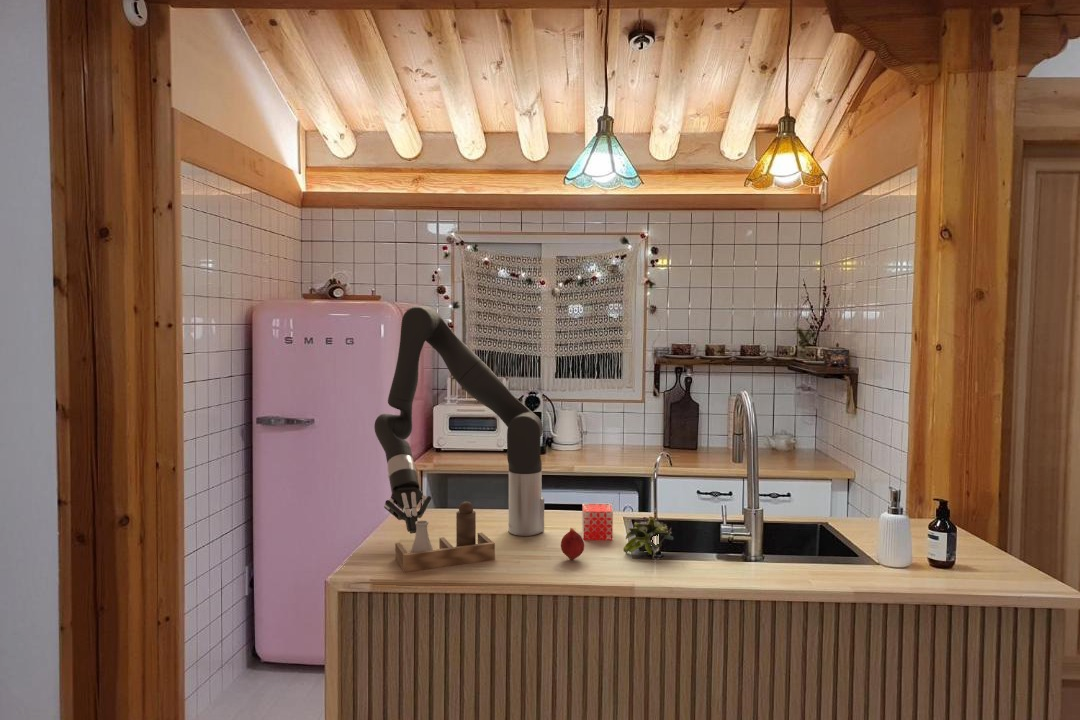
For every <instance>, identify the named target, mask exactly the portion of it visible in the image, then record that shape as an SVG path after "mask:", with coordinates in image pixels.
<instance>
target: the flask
mask: <svg viewBox="0 0 1080 720" xmlns="http://www.w3.org/2000/svg"><path fill="white" fill-rule="evenodd" d="M415 524H416V533H415V536H414V541H413V544H412V547H411V549H410V551H409V553H413V552H421V551H428V550H434V549H433V547H432V543H431V540H430V537H429V532H428V525H429V521H428V520H426V519H425V520H422V519H420V520H418V521H416V522H415Z"/></svg>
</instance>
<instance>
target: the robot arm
mask: <svg viewBox="0 0 1080 720" xmlns="http://www.w3.org/2000/svg"><path fill="white" fill-rule="evenodd" d="M400 325H401V326H400V327H401V328H400V340H399V348H398V353H397V354H398V355H397V361H396V367H395V371H394V374H393V378H392V382H391V386H390V390H389V394H388V397H387V403H388V405H389V407H392V408H393V409H396V410H399V411H400V413H399V414H389V413H382V414H379V415H378V416H377V417H376V419H375V421H374V433H375V437H376V438H377V440H378V441H379V443H380V445H381V447H382V449H383V451H384V453H385V458H386V464H387V477H388V479H389V484H390V485H389V486H390V492H391V495H390V499H387V500H385V503H384V506H383V507H384V509H385V510H386V511H388V512H389V513H390V514H391V515H392V516H393V517H395V519H397V521H404V522H405V526H406V531H407V532H409V534H416V524H415V522H416V521H419V520H418V519H421V518H422V517H423V515H424V514H425V513H426V510H427V509H428V508H429V506H430V504H431V502H432V497H431V496H430V495H428V496H426V495H425V494H424V493H423V491H422V490H421V488H420V481H419V479H418V478H419V477H418V473H417V470H416V469H417V468H416V464H415V462H414V461H415V460H414V458H413V455H412V449H411V445H410V443H409V442H408V441H407V440H406V439H408V438H409V437H410V436H411V434H412V432H413V416H412V415H413V404H414V403H413V402H414V399H415V395H416V392H417V386H418V381H419V366H420V365H419V362H420V357H421V352H422V350H423V347H424V344H425V342H426V343H427V344H429V345H430V346H431V347H432V348H433V349H434V350H435V351H436V353H438V354H439V355H440V357H441V358H442V360H443V363H444V364H445V366H446V368H447V370H448V371H449V373H450V375H451V377H453V379H454V380H455V381H456V382H457V383H458V384H459V386H460V387H461V388H463V390H464V391H465V393H467V394H469V395H470V396H471V397H472V398H473V399H474V400H476V401H478V402H479V403H480V404H482V405H483V406H485V407H486V408H487V409H489V410H491V411H492V412H493V413H495V415H496V416H497V417H498V418H499V419H500V420H501V421H502V422H503V424H505V426H506V429H507V430H506V431H507V432H506V448H507V449H506V453H507V454H506V457H507V463H508V532H509V533H510V534H512V535H514V536H522V537H526V536H527V537H528V536H529V537H530V536H536V535H539V534H541V533H544V532H545V498H544V497H543V496H542V493H543V492H542V491H543V490H542V488H543V487H542V481H543V480H542V479H543V478H542V475H543V474H542V473H543V472H542V470H543V469H542V465H543V462H542V459H541V458H542V457H541V437H542V434H543V432H544V426H543V425H544V424H543V422H542V420H541V419H540V417H539V416H538V415H537V414H535V412H533V411H532V410H531V409H529V408H528V407H527V406H526V405H525V404H523V403H522V402H521V401H520V400H519V399H518V398H517V397H516V396H514V394H512V392H511V391H510V390H509V389H508V387H507V386H506V385H505V383H504V382H502V380H501V379H500V378H499V377H498V376H497V375H496V374H495V372H494V371H493V370H492V369H491V368H490V367H489V366H488V365H487V364H486V363H485V362H484V361H483V360H482V359H481V357H479V355H477V354H476V353H475V352H474V351H473V350H472V349H471V348H470V347H469V346H468V345H467V344H466V343H464V342H463V341H462V340H461V338H459V337H458V336H457V335H456V334H455V333H454V331H453V330H452V329H451V327H449V325H448V324H447V323H446V321H445V320H444V318H442V316H441V315H440V314H439V312H438V311H437V310H436V309H434V308H433V307H430V306H428V305H418V306H412V307H410V308H409V309H407V310H406V311H405V312H404V314H403V315H402V319H401V324H400ZM420 501H421V504H422V505H420V506H421V507H420V508H419V510H417V509H418V508H417V507H418V505H419V503H420Z"/></svg>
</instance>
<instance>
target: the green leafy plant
mask: <svg viewBox="0 0 1080 720" xmlns="http://www.w3.org/2000/svg"><path fill="white" fill-rule="evenodd" d="M655 518H657V520H655ZM642 519H643V520H644V521H642V520H640V521H639V522H634V527H629V528H628V529H629V531H630V532H629V531H628V532H627V534H626V536H625V540H627V539H629V538H631V537H632V538H631V539H629V541H628V542H627V543H626V544H625V545H624V548H623V552H624V553H625V554H626V555H627V554H628V553H632V552H635V551H637V550H638V549H640V548H642V547H644V549H645V551H647V553H648V554H650V555H652V558H651V560H653V559H654V557H655V554H656V552H657V550H658V549H659V548H661V547H662V545H663V542H664V541H665V539H666V540H669V541H673V540H674V536H672V535H671V534H673V532H672V530H673V529H672V527H670V528H669V526H667V524H666V523H664V522H662V521H659V518H658V517H654V516H650V515H649V516H648V517H647V516H644V517H642ZM658 534H659V544H657V545H655V544H654V543H653V540H652V537H653V536H656V535H657V536H658ZM634 536H635V537H634ZM651 540H652V542H651ZM651 545H652V546H651Z"/></svg>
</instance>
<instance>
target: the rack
mask: <svg viewBox="0 0 1080 720" xmlns="http://www.w3.org/2000/svg"><path fill="white" fill-rule="evenodd" d="M394 545H395V548H394V549H395V550H394V551H395V553H394V555H395V558H394V559H395V561H396V562H397V564H398V565H399V567H400V568H401V569H402V571H403V572H404V573H407V572H415V571H421V570H429V569H434V568H435V569H436V568H442V567H443V568H444V567H449V566H455V565H456V566H457V565H463V564H470V563H479V562H486V561H491V560H495V559H496V556H495V555H496V554H495V553H496V550H495V547H496V544H495V542H494V541H493V540H492V539H490V538H489V537H488V536H487V535H486V534H485V533H483V532H477V543H476V544H474V545H467V546H459V547H456V546H453V545H452V544H451V543H450V542H449V541H448V540H447V539H446V538H445V537H444V536H443V537H439V546H438V547H439V548H438V549H433V550H428V551H421V552H413V553H410V552H408V551H407V550H406V548H405V547H404V546H403V544H402V543H401V542H395V543H394Z"/></svg>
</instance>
